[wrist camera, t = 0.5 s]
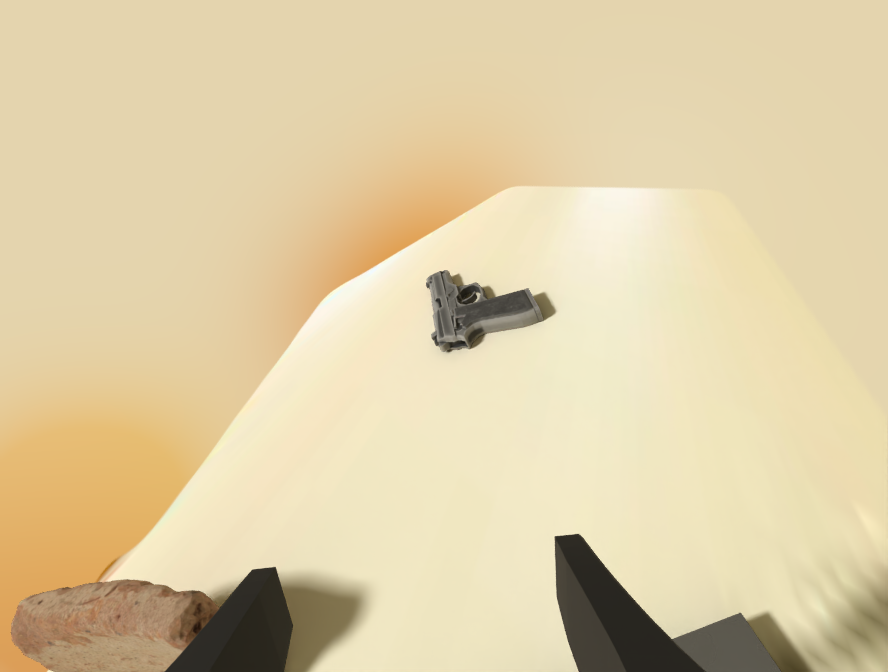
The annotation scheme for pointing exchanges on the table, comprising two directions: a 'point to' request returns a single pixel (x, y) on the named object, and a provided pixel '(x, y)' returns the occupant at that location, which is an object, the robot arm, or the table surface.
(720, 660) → the rail
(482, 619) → the table surface
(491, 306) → the handgun
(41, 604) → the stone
